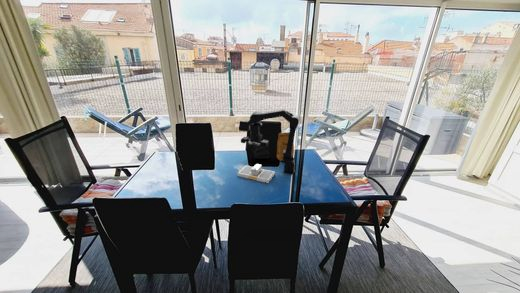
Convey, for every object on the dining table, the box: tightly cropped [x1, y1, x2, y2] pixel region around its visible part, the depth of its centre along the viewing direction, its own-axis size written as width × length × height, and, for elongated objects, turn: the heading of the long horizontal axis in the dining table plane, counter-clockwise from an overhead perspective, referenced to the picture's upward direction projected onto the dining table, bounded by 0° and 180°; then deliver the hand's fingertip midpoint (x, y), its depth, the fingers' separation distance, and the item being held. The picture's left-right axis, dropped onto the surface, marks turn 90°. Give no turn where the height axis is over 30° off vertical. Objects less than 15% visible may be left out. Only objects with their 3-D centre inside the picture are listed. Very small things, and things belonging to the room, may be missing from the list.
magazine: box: [254, 139, 270, 160], centre depth 169 cm, size 4×13×15 cm, turn 95°
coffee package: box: [276, 131, 295, 162], centre depth 166 cm, size 10×12×22 cm
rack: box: [237, 164, 276, 184], centre depth 146 cm, size 22×12×2 cm, turn 67°
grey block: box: [251, 163, 263, 177], centre depth 145 cm, size 4×8×6 cm, turn 156°
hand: (254, 153), depth 150 cm, fingers closed
